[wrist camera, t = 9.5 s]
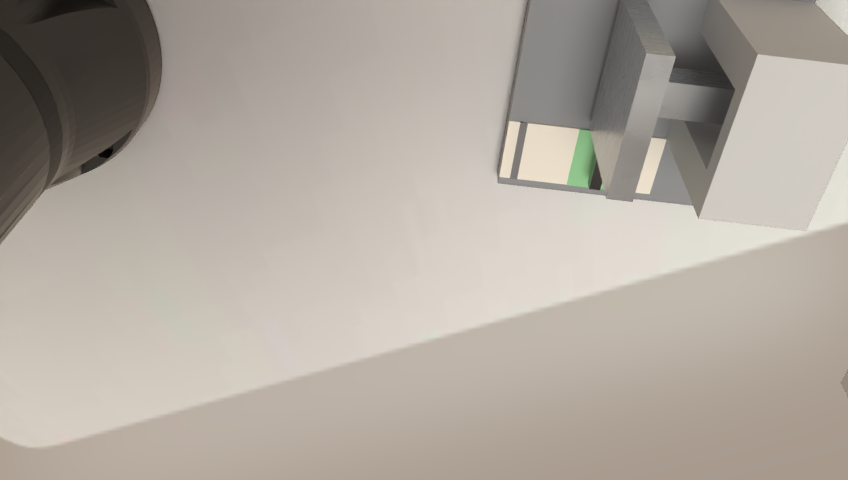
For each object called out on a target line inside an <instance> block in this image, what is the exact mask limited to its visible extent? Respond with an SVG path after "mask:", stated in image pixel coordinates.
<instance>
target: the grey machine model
mask: <svg viewBox="0 0 848 480" xmlns="http://www.w3.org/2000/svg"><path fill="white" fill-rule="evenodd" d="M675 58H676V56H675V54H674V52H673V50H672V48H671V46H670V44H669V42H668V40H667V38H666V36H665V34H664V32H663V31H662V29H661V27H660V25H659V23H658V21H657V19H656V17H655V15H654V13H653V11H652V9H651V7H650V5H649V3H648V1H647V0H620V4H619V8H618V12H617V16H616V20H615V24H614V28H613V32H612V36H611V40H610V44H609V49H608V53H607V57H606V61H605V65H604V69H603V73H602V77H601V81H600V85H599V89H598V93H597V97H596V101H595V105H594V110H593V114H592V118H591V122H590V126H589V129H590V133H591V137H592V141H593V145H594V150H595V155H594V159H593V163H592V167H591V171H590V175H589V179H588V187H589V189H592V190H600V189H601V185H602V183H603V187H604V191H605V195H606V199H613V200H621V201H630V202H633V199H634V195H635V192H636V189H637V185H638V182H639V179H640V175H641V172H642V169H643V165H644V162H645V158H646V155H647V152H648V148H649V145H650V142H651V138H652V135H653V132H654V128H655V125H656V122H657V118H658V117H659V118H668V119H677V120H685V121H694V122H702V123H711V124H720V125H723V123H724V120H725V117H726V114H727V111H728V109H729V106H730V103H731V100H732V97H733V94H734V92H735V88H734V87H733V85H732V83H731V82H730V80H729V78H728V77H727V75H726V74H722V73H713V72H705V71H696V70H688V69H679V68H673V65H674V62H675Z"/></svg>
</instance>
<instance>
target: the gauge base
mask: <svg viewBox="0 0 848 480" xmlns="http://www.w3.org/2000/svg"><path fill="white" fill-rule="evenodd" d="M647 1H648V3H649V5H650V7H651V9H652V11H653V13H654V15H655V17H656V19H657V21H658V23H659V25H660V27H661V29H662V31H663V32H664V34H665V36H666V38H667V40H668V42H669V44H670V46H671V48H672V50H673V52H674V54H675V56H676V58H675V62H674V65H673V68H679V69H688V70H696V71H705V72H713V73H722V74H726V75H727V77H728V78H729V80H730V82H731V83H732V85H733V87H734V88H735V92H734V94H733V97H732V100H731V103H730V106H729V109H728V111H727V114H726V117H725V120H724V123H723V125H720V124H711V123H702V122H694V121H685V120H677V119H668V118H659V117H658V118H657V122H656V125H655V128H654V132H653V135H652V138H651V142H650V145H649V148H648V152H647V155H646V158H645V162H644V165H643V169H642V172H641V175H640V179H639V182H638V185H637V189H636V192H635V195H634V199H640V200H648V201H657V202H666V203H675V204H683V205H692V206H694V209H695V211H696V214H697V216H698V219H705V220H713V221H722V222H731V223H740V224H748V225H757V226H766V227H774V228H783V229H792V230H801V231H807V228H808V226H809V224H810V222H811V220H812V217H813V215H814V213H815V211H816V209H817V207H818V204H819V202H820V200H821V198H822V196H823V194H824V191H825V189H826V187H827V185H828V183H829V181H830V178H831V176H832V174H833V172H834V170H835V168H836V165H837V163H838V161H839V159H840V157H841V155H842V152H843V150H844V148H845V146H846V144H847V142H848V35H846V34H845V33H844V32H843V31H842V30H841V29H840V28H839V27H838V26H837V25H836V24H835V23H834V22H833V21H832V20H831V19H830V18H829V17H828V16H827V15H826V14H825V13H824V12H823V11H822V10H821V9H820V8H819V7H818V6H817V5H816V4H815V1H816V0H647ZM619 4H620V0H528V3H527V9H526V15H525V20H524V26H523V31H522V37H521V43H520V48H519V54H518V60H517V65H516V71H515V76H514V82H513V88H512V93H511V99H510V105H509V110H508V116H507V121H506V127H505V133H504V138H503V144H502V150H501V155H500V161H499V166H498V172H497V174H498V183H500V184H509V185H518V186H527V187H535V188H544V189H553V190H561V191H570V192H579V193H588V194H596V195H605V191H604V187H603V183H602V185H601V189H600V190H592V189H589V187H588V179H589V175H590V171H591V167H592V163H593V159H594V155H595V150H594V145H593V141H592V137H591V133H590V129H589V126H590V122H591V118H592V114H593V110H594V105H595V101H596V97H597V93H598V89H599V85H600V81H601V77H602V73H603V69H604V65H605V61H606V57H607V53H608V49H609V44H610V40H611V36H612V32H613V28H614V24H615V20H616V16H617V12H618V8H619ZM605 196H606V195H605Z"/></svg>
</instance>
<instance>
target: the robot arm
mask: <svg viewBox="0 0 848 480" xmlns="http://www.w3.org/2000/svg"><path fill="white" fill-rule="evenodd" d="M160 80H161V51H160V44H159V39H158V34H157V31H156V27H155V24H154V21H153V18H152V15H151V13H150V10H149V8H148V6H147V4H146V2H145V0H0V244H1V243H2V242H3V240H4V239H5V238H6V237H7V236H8V234H9V233H10V232H11V231H12V230H13V228H14V227H15V226H16V225H17V223H18V222H19V221H20V220H21V219H22V217H23V216H24V215H25V214H26V213H27V211H28V210H29V209H30V208H31V206H32V205H33V204H34V203H35V201H36V200H37V199H38V198H39V196H40V195H41V194H42V193H43V192H44V191H45V190H46V189H49V188H51V187H53V186H56V185H58V184H60V183H63V182H65V181H67V180H70V179H72V178H74V177H77V176H79V175H81V174H83V173H86V172H88V171H91V170H93V169H95V168H97V167H99V166H101V165H103V164H104V163H106V162H107V161H109V160H110V159H112V158H113V157H114V156H116V155H117V154H118V153H119V152H120V151H121V150H123V149H124V147H125V146H126V145H127V144H128V143H129V142H130V141H131V139H132V138H133V137H134V136H135V134H136V133H137V132H138V130H139V129H140V127H141V126H142V125H143V123H144V122H145V121H146V119H147V117H148V116H149V114H150V112H151V110H152V108H153V106H154V103H155V101H156V98H157V95H158V91H159V86H160ZM841 384H842V386H843V388H844V390H845V392H846V394H847V396H848V370H847V372H846V374H845V376H844V378H843V379H842V381H841Z"/></svg>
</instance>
